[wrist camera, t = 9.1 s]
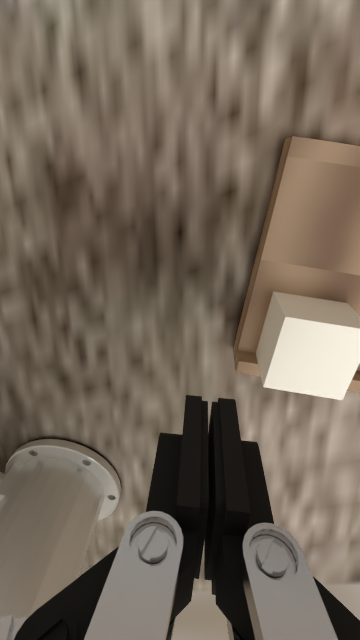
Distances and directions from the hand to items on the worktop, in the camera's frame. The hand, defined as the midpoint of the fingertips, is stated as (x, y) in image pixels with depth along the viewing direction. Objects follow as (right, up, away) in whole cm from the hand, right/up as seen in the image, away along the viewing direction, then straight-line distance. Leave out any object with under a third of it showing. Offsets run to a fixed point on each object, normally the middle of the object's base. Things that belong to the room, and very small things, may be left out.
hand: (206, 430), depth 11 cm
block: (+7, +3, +11) cm, 14 cm away
